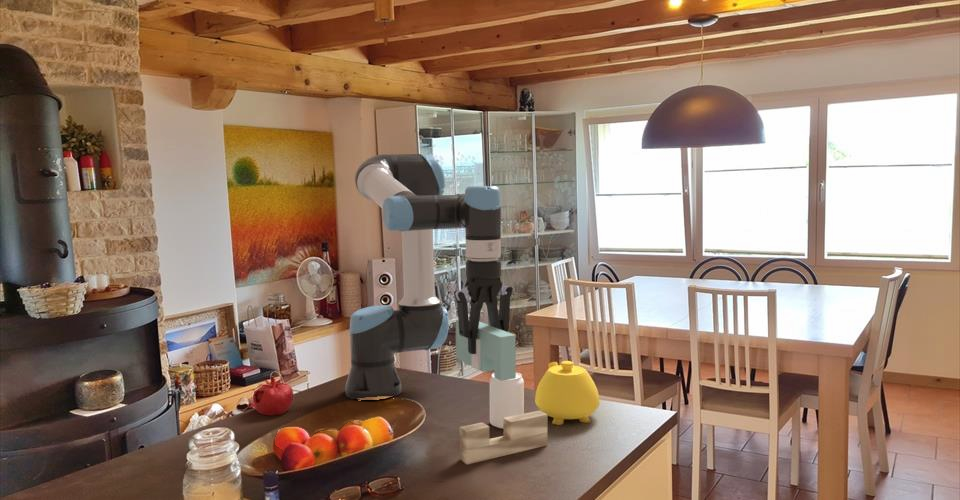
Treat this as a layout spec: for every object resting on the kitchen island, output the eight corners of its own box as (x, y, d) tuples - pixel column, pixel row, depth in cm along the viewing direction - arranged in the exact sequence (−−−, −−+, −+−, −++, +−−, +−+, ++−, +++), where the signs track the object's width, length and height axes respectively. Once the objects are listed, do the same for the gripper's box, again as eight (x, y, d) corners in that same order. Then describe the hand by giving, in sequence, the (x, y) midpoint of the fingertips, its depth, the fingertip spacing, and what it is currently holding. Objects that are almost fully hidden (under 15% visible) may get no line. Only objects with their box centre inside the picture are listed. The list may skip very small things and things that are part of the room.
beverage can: (521, 431, 160) (521, 381, 159) (486, 429, 162) (486, 379, 161) (526, 419, 168) (525, 371, 167) (493, 417, 170) (492, 369, 168)
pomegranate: (296, 404, 181) (296, 369, 181) (290, 417, 172) (290, 380, 171) (257, 405, 180) (256, 370, 179) (249, 418, 170) (248, 381, 170)
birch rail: (460, 459, 145) (459, 427, 144) (539, 440, 155) (539, 410, 154) (466, 464, 142) (466, 431, 142) (547, 445, 152) (547, 414, 151)
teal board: (456, 358, 158) (455, 319, 157) (469, 356, 160) (469, 317, 159) (501, 380, 140) (500, 337, 139) (515, 378, 142) (515, 335, 141)
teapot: (523, 403, 180) (523, 351, 179) (580, 398, 183) (581, 347, 182) (545, 430, 161) (545, 373, 159) (609, 425, 164) (609, 368, 162)
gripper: (456, 263, 140) (458, 376, 143) (525, 257, 148) (526, 365, 151) (440, 259, 147) (442, 368, 149) (507, 254, 155) (508, 357, 157)
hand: (484, 366), depth 150 cm, fingers closed on teal board, 3 cm apart
